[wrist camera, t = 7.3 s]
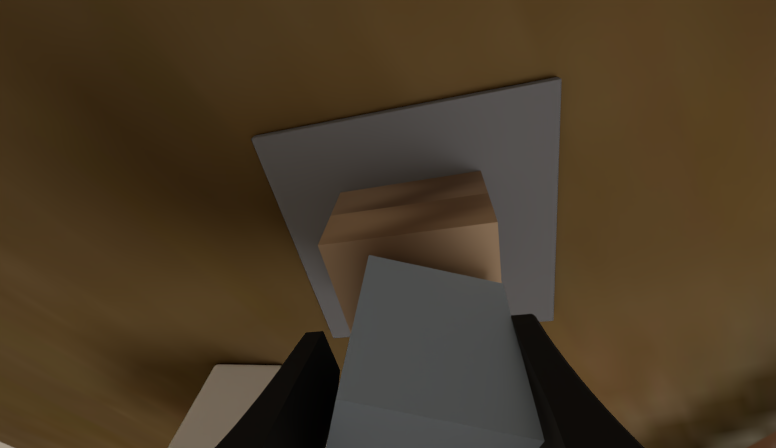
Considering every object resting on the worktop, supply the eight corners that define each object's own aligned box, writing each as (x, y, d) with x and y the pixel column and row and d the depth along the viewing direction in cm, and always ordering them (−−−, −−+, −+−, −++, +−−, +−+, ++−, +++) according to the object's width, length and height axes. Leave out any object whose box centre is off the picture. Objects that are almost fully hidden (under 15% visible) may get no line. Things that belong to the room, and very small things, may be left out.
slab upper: (487, 192, 13) (497, 222, 11) (497, 312, 16) (505, 349, 14) (330, 215, 14) (317, 245, 12) (366, 323, 17) (360, 359, 15)
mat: (557, 76, 13) (561, 79, 13) (550, 314, 19) (553, 320, 19) (254, 135, 15) (250, 138, 15) (334, 332, 21) (333, 337, 21)
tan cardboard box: (480, 170, 15) (487, 192, 13) (490, 282, 18) (497, 312, 16) (340, 192, 16) (330, 215, 14) (371, 294, 19) (366, 323, 17)
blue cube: (502, 283, 12) (544, 440, 8) (461, 367, 14) (476, 522, 10) (368, 255, 12) (335, 399, 8) (349, 344, 14) (317, 490, 10)
